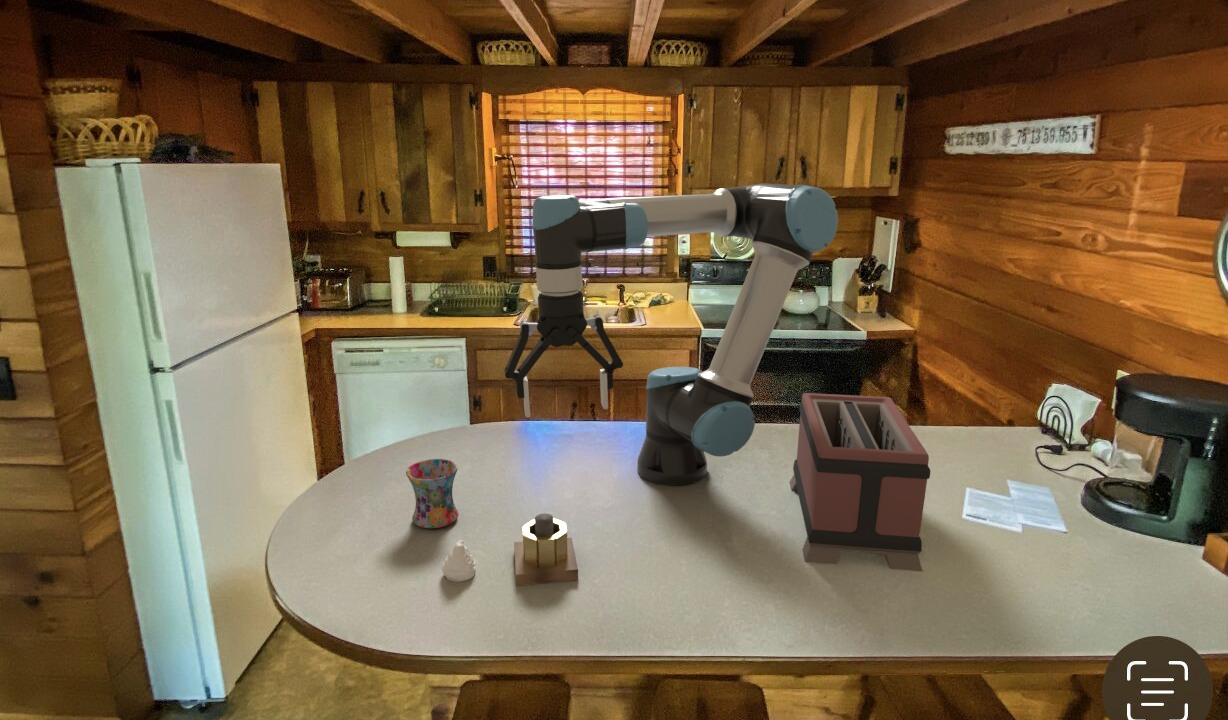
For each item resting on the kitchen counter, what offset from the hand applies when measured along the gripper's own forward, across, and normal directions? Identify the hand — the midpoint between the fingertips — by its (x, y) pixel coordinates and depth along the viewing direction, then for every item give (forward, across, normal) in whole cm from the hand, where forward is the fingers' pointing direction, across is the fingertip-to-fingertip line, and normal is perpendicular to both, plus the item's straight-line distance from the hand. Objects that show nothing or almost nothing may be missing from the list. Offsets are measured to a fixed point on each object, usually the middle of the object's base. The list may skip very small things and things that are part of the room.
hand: (566, 410), depth 126 cm
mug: (+23, +24, -10) cm, 35 cm away
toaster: (+26, -52, +6) cm, 58 cm away
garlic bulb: (+23, +20, +10) cm, 33 cm away
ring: (+21, +6, +11) cm, 25 cm away
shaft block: (+23, +6, +11) cm, 26 cm away
